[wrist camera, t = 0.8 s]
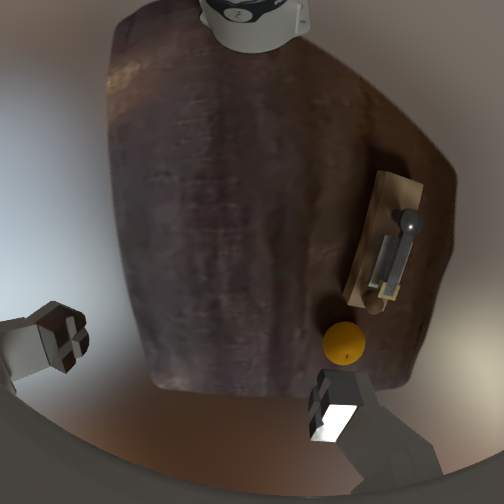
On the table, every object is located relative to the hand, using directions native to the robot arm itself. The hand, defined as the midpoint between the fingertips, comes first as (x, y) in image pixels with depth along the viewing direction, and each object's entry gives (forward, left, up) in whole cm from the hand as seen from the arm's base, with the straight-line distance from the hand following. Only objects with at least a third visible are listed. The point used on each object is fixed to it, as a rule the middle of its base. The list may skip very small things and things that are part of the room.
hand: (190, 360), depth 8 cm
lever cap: (+3, +21, -32) cm, 39 cm away
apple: (+20, +20, -37) cm, 46 cm away
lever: (+1, +21, -28) cm, 35 cm away
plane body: (+1, +21, -36) cm, 42 cm away
